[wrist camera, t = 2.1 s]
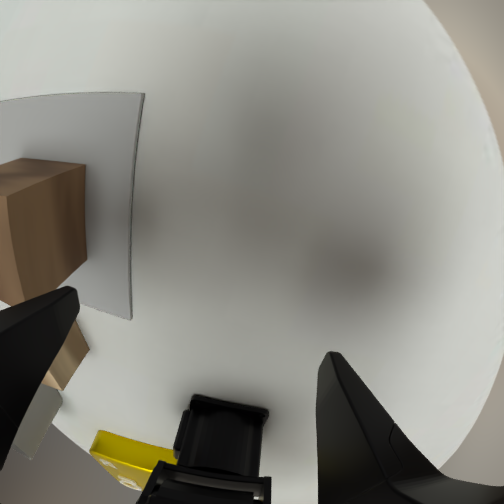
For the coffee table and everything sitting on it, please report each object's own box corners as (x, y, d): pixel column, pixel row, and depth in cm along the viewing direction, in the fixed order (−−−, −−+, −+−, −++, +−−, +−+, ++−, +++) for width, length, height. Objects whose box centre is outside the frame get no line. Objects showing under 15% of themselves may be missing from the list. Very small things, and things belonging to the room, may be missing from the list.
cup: (11, 348, 23) (-31, 403, 14) (62, 388, 25) (26, 452, 16) (17, 378, 27) (-15, 425, 18) (62, 411, 28) (34, 464, 19)
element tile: (211, 485, 34) (207, 508, 30) (126, 464, 35) (119, 486, 31) (202, 452, 28) (194, 485, 24) (94, 424, 29) (82, 451, 24)
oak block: (72, 311, 19) (37, 352, 14) (89, 349, 20) (62, 391, 16) (41, 306, 19) (8, 342, 15) (58, 342, 21) (31, 379, 16)
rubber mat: (144, 93, 12) (141, 93, 12) (132, 318, 18) (130, 320, 18) (-49, 113, 12) (-52, 113, 11) (-39, 246, 18) (-41, 247, 17)
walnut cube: (86, 164, 13) (6, 196, 8) (88, 259, 16) (29, 315, 11) (21, 157, 13) (-49, 184, 8) (27, 239, 16) (-29, 281, 10)
